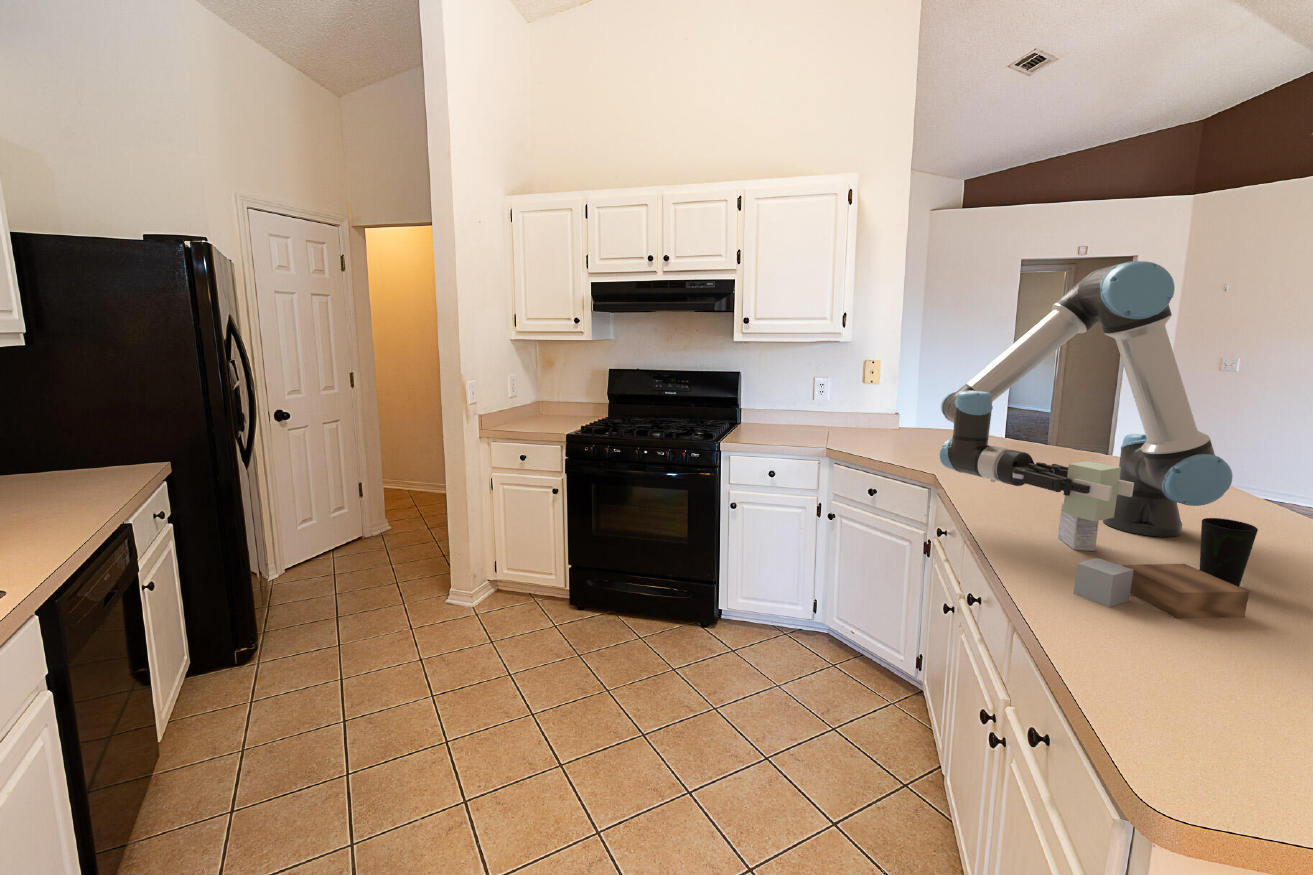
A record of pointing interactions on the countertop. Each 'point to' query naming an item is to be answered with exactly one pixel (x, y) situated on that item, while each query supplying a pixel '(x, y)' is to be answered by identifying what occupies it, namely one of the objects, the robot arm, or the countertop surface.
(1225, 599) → the walnut block
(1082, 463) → the sage block
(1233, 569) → the cup
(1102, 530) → the countertop surface
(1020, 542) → the countertop surface
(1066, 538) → the medicine box
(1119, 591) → the grey block
